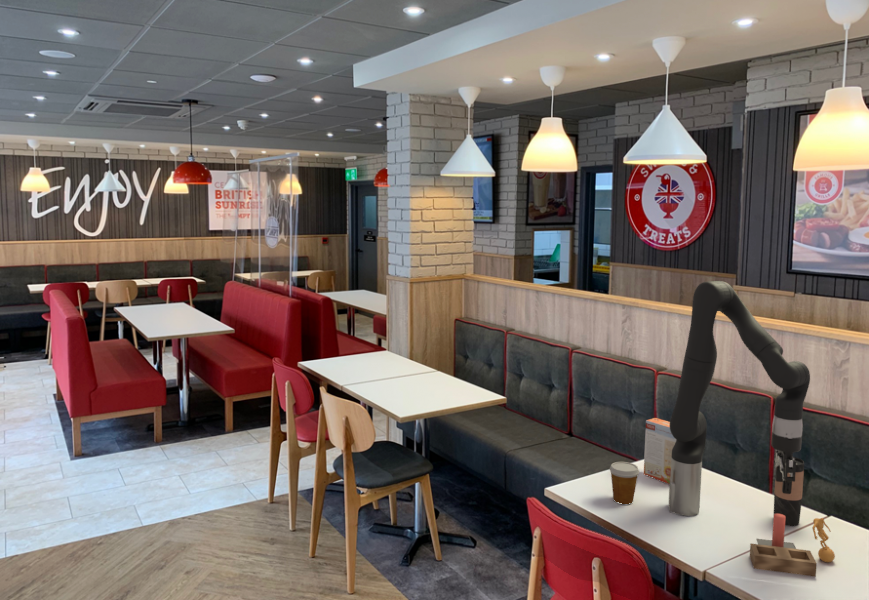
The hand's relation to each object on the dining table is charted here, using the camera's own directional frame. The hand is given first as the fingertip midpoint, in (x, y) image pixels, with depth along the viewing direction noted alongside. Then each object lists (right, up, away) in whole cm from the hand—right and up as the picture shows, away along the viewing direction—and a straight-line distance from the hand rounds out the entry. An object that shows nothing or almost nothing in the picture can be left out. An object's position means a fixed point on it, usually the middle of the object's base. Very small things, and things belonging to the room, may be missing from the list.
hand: (782, 487), depth 195 cm
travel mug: (+10, -16, +19) cm, 27 cm away
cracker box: (-16, -12, +52) cm, 56 cm away
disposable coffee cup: (-36, -14, +34) cm, 51 cm away
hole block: (-5, -20, -8) cm, 22 cm away
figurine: (+9, -19, -4) cm, 21 cm away
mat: (-1, -18, +2) cm, 18 cm away
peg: (-1, -18, +2) cm, 18 cm away
